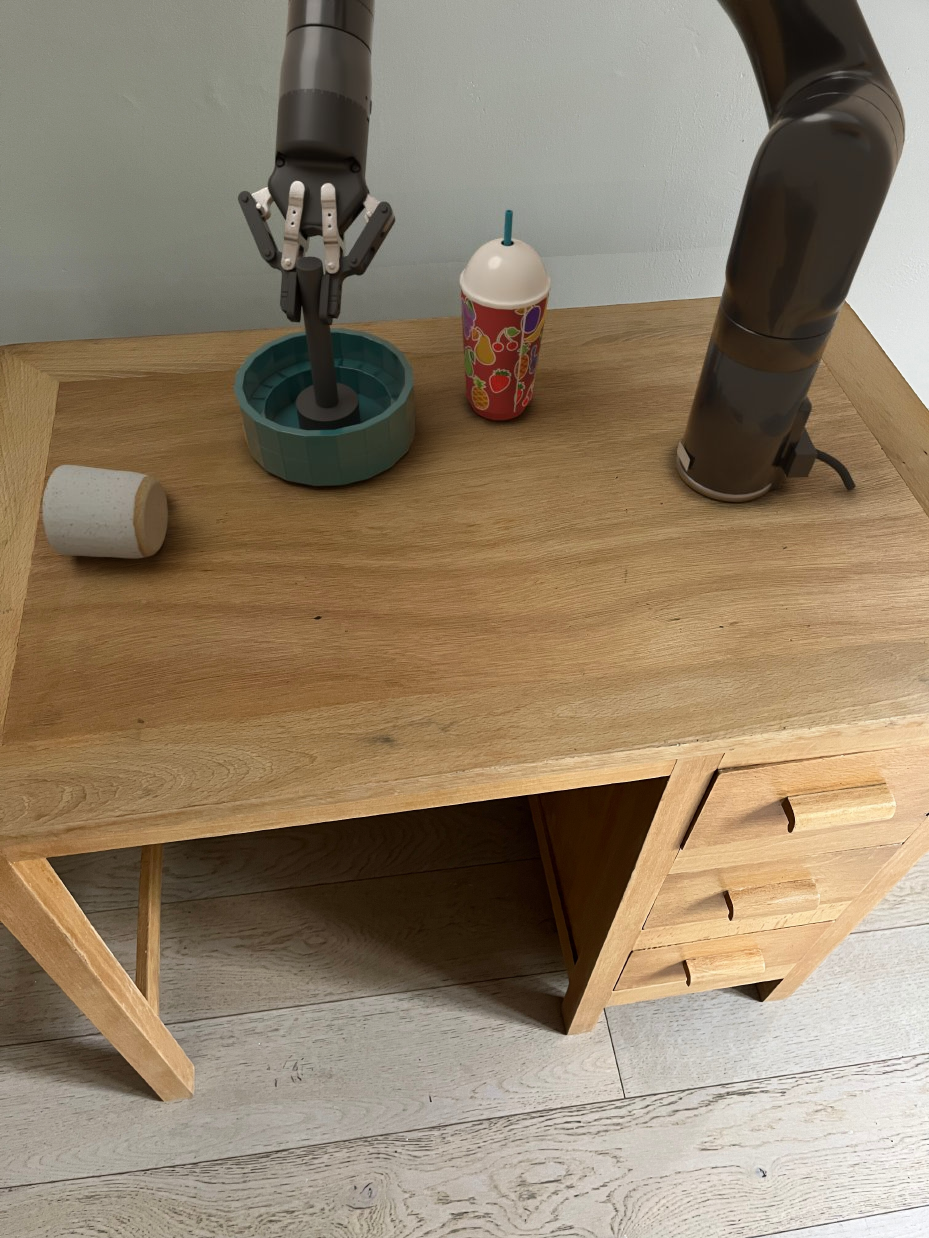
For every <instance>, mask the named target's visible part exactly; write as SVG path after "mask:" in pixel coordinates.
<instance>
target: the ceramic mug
mask: <svg viewBox="0 0 929 1238" xmlns="http://www.w3.org/2000/svg"><path fill="white" fill-rule="evenodd" d="M41 507H42V523H43V528H44V532H45V535H46V538H47V541H48V543H49V545H50V546H51V548H52V549H53V550H54V551H55V552H56V553H58V554H59V555H63V556H73V557H74V556H76V557H77V556H78V557H79V556H80V557H97V558H98V557H99V558H121V559H142V558H148V557H152V556H154V555H155V554H157V553H158V551H159V550H160V549H161V547H162V546H163V544H164V541H165V539H166V534H167V530H168V521H169V520H168V519H169V509H168V508H169V507H168V500H167V495H166V491H165V489H164V486H163V485H162V484H161V482H160V481H159V480H158V479H157V478H156V477H153V476H151V475H148V474H144V473H141V472H135V471H128V470H127V471H126V470H114V469H107V468H99V467H91V466H84V465H76V464H62V465H60V466H57V467H56V468H55V469H54V470H53V471H52V473H51V474H50V476H49V478H48V480H47V484H46V485H45V488H44V493H43V498H42V506H41Z"/></svg>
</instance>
